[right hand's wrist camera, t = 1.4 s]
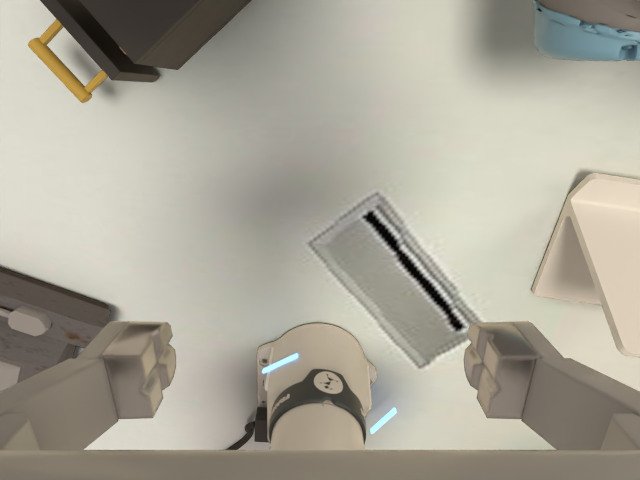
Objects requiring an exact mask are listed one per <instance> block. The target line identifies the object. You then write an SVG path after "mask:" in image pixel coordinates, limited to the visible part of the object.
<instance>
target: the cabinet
mask: <svg viewBox="0 0 640 480" xmlns="http://www.w3.org/2000/svg"><path fill="white" fill-rule="evenodd" d="M80 1H81V3H82V4H83V5H84V6H85V7H86V8H87V10H88V11H89V12H90V13H91V14H92V15H93V16H94V18H95V19H96V20H97V21H98V22H99V23H100V25H101V26H102V27H103V28H104V29H105V30H106V32H107V33H108V34H109V35H110V36H111V37H112V38H113V40H114V41H115V42H116V43H117V44H118V45H119V47H120V48H121V49H122V50H123V51H124V52H125V53H126V55H127V56H128V57H129V58H130V59H131V60H132V62H133V63H135V64H141V65H148V66H155V67H162V68H168V69H175V70H178V69H179V68H180V67H181V66H182V65H183V64H184V63H185V62H187V61H188V60H189V59H190V58H191V57H192V56H193V55H194V54H195V53H196V52H197V51H198V50H199V49H200V48H201V47H202V46H203V45H205V44H206V43H207V42H208V41H209V40H210V39H211V38H212V37H213V36H214V35H215V34H216V33H217V32H218V31H219V30H220V29H221V28H223V27H224V26H225V25H226V24H227V23H228V22H229V21H230V20H231V19H232V18H233V17H234V16H235V15H236V14H237V13H238V12H239V11H241V10H242V9H243V8H244V7H245V6H246V5H247V4H248V3H249V2H250V1H251V0H80Z"/></svg>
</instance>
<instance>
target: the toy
mask: <svg viewBox="0 0 640 480" xmlns="http://www.w3.org/2000/svg"><path fill="white" fill-rule="evenodd" d="M110 312H111V310H109V308H108V306H107V305H106V304H104V303H102V302H99V301H96V300H93V299H90V298H87V297H85V296H82V295H79V294H76V293H73V292H70V291H67V290H64V289H61V288H59V287H56V286H53V285H50V284H47V283H44V282H41V281H38V280H35V279H33V278H30V277H27V276H24V275H21V274H18V273H15V272H12V271H9V270H7V269H4V268H1V267H0V392H1V391H3V390H5V389H7V388H9V387H11V386H13V385H15V384H17V383H19V382H21V381H24V380H26V379H28V378H30V377H32V376H34V375H36V374H38V373H40V372H42V371H44V370H46V369H49V368H51V367H53V366H55V365H57V364H59V363H61V362H63V361H65V360H67V359H69V358H73V354H74V350H75V346H79V347H82V348H86V347H87V346H88V344H89V343H90V342H91V341H92V340H93V339H94V338H95V337H96V336H97V335H98V334H99V332H100V331H101V330H102V329H103V328H104V327H105V326H106V325H107V321H108V318H109V315H110Z"/></svg>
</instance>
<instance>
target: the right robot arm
mask: <svg viewBox="0 0 640 480" xmlns="http://www.w3.org/2000/svg"><path fill="white" fill-rule="evenodd" d="M172 336H173V335H172V330H171V325H170V324H169V323H168V322H133V321H132V322H129V321H113V322H109V323H108V324H107V325H106V326H105V327H104V328H103V329H102V330H101V331H100V332H99V334H98V335H97V336H96V337H95V338H94V339H93V340H92V341H91V342H90V343H89V344H88V346H87V347H86V348H85V349H84V350H83V351H82V352H81V353H80V354H79V355H78V356H77V357H76V358H69V359H67V360H65V361H63V362H61V363H59V364H57V365H55V366H53V367H51V368H49V369H46V370H44V371H42V372H40V373H38V374H36V375H34V376H32V377H30V378H28V379H26V380H24V381H21V382H19V383H17V384H15V385H13V386H11V387H9V388H7V389H5V390H3V391H1V392H0V480H640V392H639V391H637V390H635V389H633V388H631V387H629V386H627V385H625V384H623V383H620V382H618V381H616V380H614V379H612V378H610V377H608V376H606V375H604V374H602V373H600V372H598V371H596V370H593V369H591V368H589V367H587V366H585V365H583V364H581V363H579V362H577V361H575V360H573V359H571V358H563V356H562V355H561V354H560V353H559V352H558V351H557V350H556V349H555V348H554V347H553V346H552V344H551V343H550V342H549V341H548V340H547V339H546V338H545V337H544V336H543V335H542V334H541V332H540V331H539V330H538V329H537V328H536V327H535V326H534V325H533V324H532V323H530V322H528V321H516V322H485V323H471V324H470V326H469V330H468V335H467V336H468V338H469V340H470V341H471V344H470V345H469V346H468V347H467V348H466V349H465V354H464V369H465V373H466V377H467V379H468V382H469V384H470V385H471V386H472V387H474V388H475V389H476V390H478V394H477V399H478V401H479V403H480V405H481V407H482V409H483V411H484V413H485V415H486V417H487V418H503V419H522V421H523V422H524V423H525V424H526V425H527V426H529V427H530V428H531V429H532V430H534V431H535V432H536V433H537V434H538V435H540V436H541V437H542V438H543V439H545V440H546V441H547V442H548V443H549V444H551V445H552V446H553V447H554V448H556V449H557V450H365V448H364V444H365V440H366V420H365V418H366V415H367V413H368V410H371V406H372V403H371V390H370V388H371V386H372V385H373V383H374V382H375V380H376V378H377V370H376V368H375V367H374V366H373V365H372V364H371V363H370V362H369V361H368V360H367V359H366V358H365V356H364V353H363V351H362V348H361V346H360V344H359V343H358V341H357V340H356V339H355V338H354V337H353V336H352V335H351V334H349V333H348V332H347V331H345V330H343V329H341V328H339V327H336V326H333V325H329V324H323V323H312V324H306V325H302V326H299V327H296V328H294V329H292V330H290V331H288V332H287V333H286V334H284V335H283V336H282V337H281V338H279V339H278V340H276V341H274V342H270V343H267V344H264V345H262V346H260V347H259V348H258V351H257V385H258V408H257V413H256V418H255V421H254V422H251V423H249V424H247V425H246V426H245V431H246V432H247V434H246V435H245V436H244V437H243V438H242V439H241V440H240V441H238V442H237V443H236V444H234V445H233V446H232V447H230V448H229V449H228V450H83V449H85V448H86V447H87V446H88V445H89V444H91V443H92V442H93V441H94V440H96V439H97V438H98V437H99V436H100V435H102V434H103V433H104V432H105V431H107V430H108V429H109V428H110V427H111V426H113V425H114V424H115V423H116V422H118V419H137V418H153V417H154V415H155V413H156V411H157V409H158V407H159V405H160V403H161V401H162V399H163V394H162V390H164V389H165V388H166V387H168V386H169V385H170V384H171V382H172V379H173V377H174V373H175V368H176V354H175V349H174V348H173V347H172V346H171V345H170V344H169V341H170V340H171V338H172ZM263 359H267V360H263ZM396 413H397V412H396V408H393V409H392V410H391V411H390V412H389V413H387V414H386V415H385V416H384V417H383V418H382V419H381V420H380V421H378V422H377V423H376V424H375V425H374V426H373V427H372V428H371V429H370V431H371V434H373V433H374V432H375V431H376V430H378V429H379V428H380V427H381V426H382V425H383V424H384V423H385V422H387V421H388V420H389V419H390V418H391V417H392V416H393V415H394V414H396ZM253 428H255V442H270V450H237V449H239V448H240V447H241V446H243V445H244V444H245V443H246V442H247V441H248V440H249V439H250V438H251V437H252V435H253Z"/></svg>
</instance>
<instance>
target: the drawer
mask: <svg viewBox="0 0 640 480" xmlns="http://www.w3.org/2000/svg"><path fill="white" fill-rule="evenodd" d="M40 1H41V2H42V3H43V4H44V5H45V6H46V7H47V8H48V10H49V11H50V12H51V13H52V14H53V15H54V16H55V17H56V20H55V22H54V23H53V24H52V25H51V26H50V27H49V28H48V29H47V30H46V31H45V32H44V34H43V35H42V36H41V37H40V38H34V39H32V40H31V41H30V42H29V43H28V46H29V47H30V48H31V50H32V51H33V52H34V53H35V54H36V55H37V56H38V57H39V58H40V59H41V60H42V61H43V62H44V63H45V64H46V65H47V67H48V68H49V69H50V70H51V71H52V72H53V73H54V74H55V75H56V76H57V77H58V78H59V79H60V80H61V81H62V82H63V84H64V85H65V86H66V87H67V88H68V89H69V90H70V91H71V92H72V93H73V94H74V95H75V96H76V97H77V98H78V99H79V101H80V102H82V103H84V102H87V101H88V100H90V99H91V97H92V94H91V93H92V92H93V91H94V90H95V89H96V88H97V87H98V86H99V85H100V84H101V83H102V82H103V81H104V80H105V79H106V78H107V77H108V76H109V78H110V79H111V80H119V81H138V82H154V81H155V80H156V79H157V78H158V77H159V74H158V73H157V72H156V71H155V70H154V68H153V67H152V66H148V65H141V64H135V63H133V62H132V60H131V59H130V58H129V57H128V56H127V55H126V53H125V52H124V51H123V50H122V49H121V48H120V47H119V45H118V44H117V43H116V42H115V41H114V40H113V38H112V37H111V36H110V35H109V34H108V33H107V32H106V30H105V29H104V28H103V27H102V26H101V25H100V23H99V22H98V21H97V20H96V19H95V18H94V16H93V15H92V14H91V13H90V12H89V11H88V10H87V8H86V7H85V6H84V5H83V4H82V3H81V1H80V0H40ZM63 27H65V29H66V30H67V31H68V32H69V33H70V34H71V35H72V36H73V37H74V39H75V40H76V41H77V42H78V43H79V44H80V45H81V46H82V47H83V49H84V50H85V51H86V52H87V53H88V54H89V55H90V56H91V58H92V59H93V60H94V61H95V62H96V63H97V64H98V65H99V66H100V68H101V69H102V70H101V71H100V72H99V73H98V74H97V75H96V76H95V77H94V78H93V79H92V80H91V81H90V82H89V83H88V84H87V85H86V86H84V85H83V84H82V83H81V82H80V81H79V80H78V79H77V78H76V77H75V76H74V74H73V73H72V72H71V71H70V70H69V69H68V68H67V67H66V66H65V65H64V64H63V63H62V61H61V60H60V59H59V58H58V57H57V56H56V55H55V54H54V53H53V52H52V51H51V50H50V48H49V47H48V46H47V44H48V43H49V42H50V41H51V40H52V39H53V38H54V37H55V36H56V34H57V33H58V32H59V31H60V30H61V29H62V28H63Z"/></svg>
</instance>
